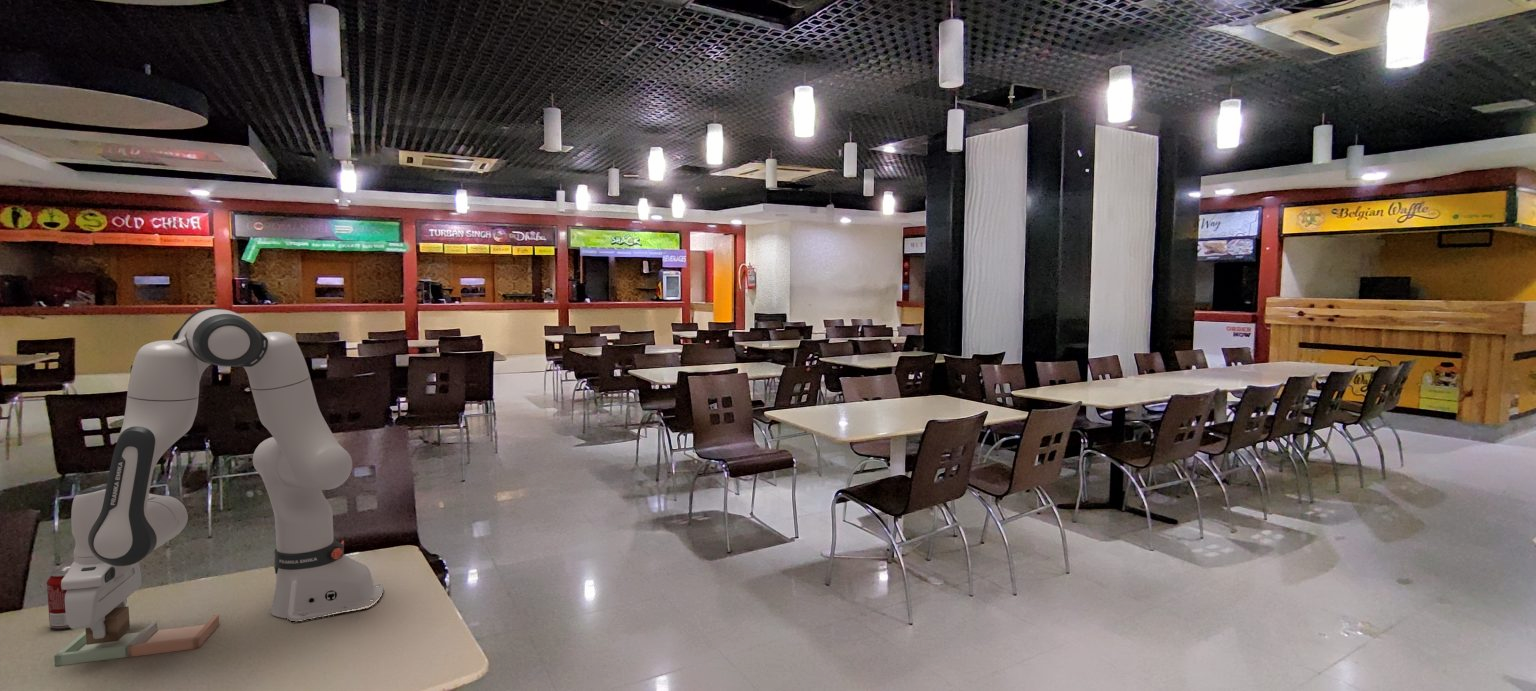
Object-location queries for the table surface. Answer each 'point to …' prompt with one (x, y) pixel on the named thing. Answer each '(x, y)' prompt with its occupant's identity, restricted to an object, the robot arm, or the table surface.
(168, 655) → the table surface
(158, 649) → the green and pink trays
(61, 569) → the soda can
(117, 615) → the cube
